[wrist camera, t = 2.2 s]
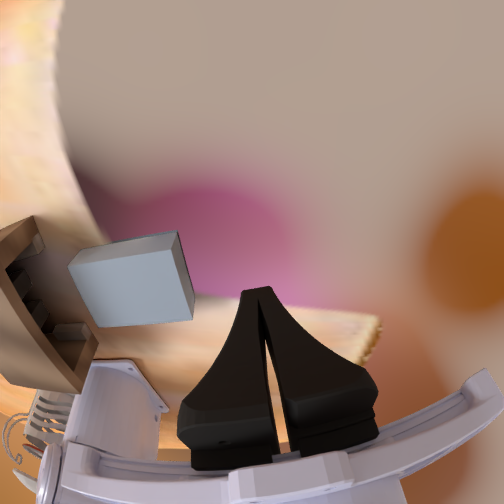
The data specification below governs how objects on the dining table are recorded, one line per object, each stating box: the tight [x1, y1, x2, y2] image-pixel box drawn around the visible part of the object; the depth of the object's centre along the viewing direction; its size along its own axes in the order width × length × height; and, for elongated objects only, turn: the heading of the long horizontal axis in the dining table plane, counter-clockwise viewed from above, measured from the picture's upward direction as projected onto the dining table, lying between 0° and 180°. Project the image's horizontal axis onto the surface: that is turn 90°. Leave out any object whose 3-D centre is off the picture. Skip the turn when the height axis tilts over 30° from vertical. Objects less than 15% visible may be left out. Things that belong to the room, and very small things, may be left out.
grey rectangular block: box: [67, 230, 195, 328], centre depth 16 cm, size 5×7×2 cm
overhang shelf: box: [0, 216, 99, 395], centre depth 14 cm, size 12×10×6 cm
